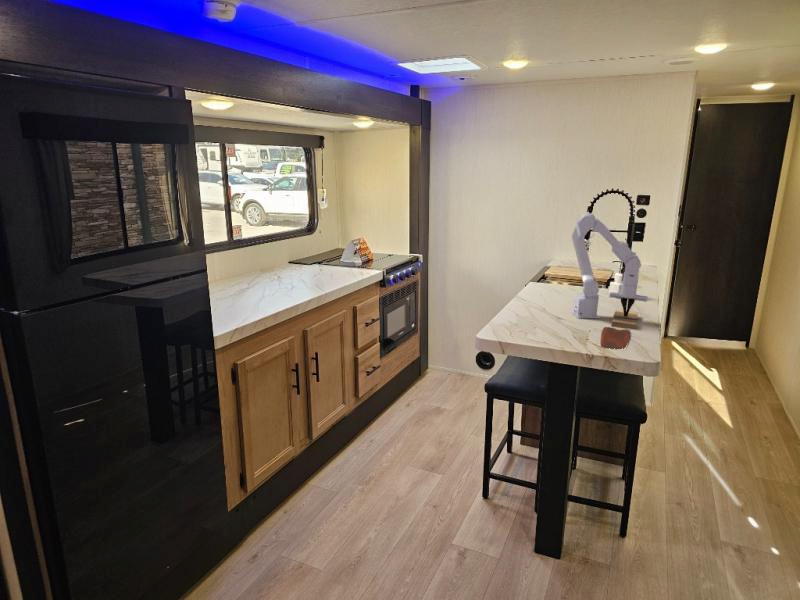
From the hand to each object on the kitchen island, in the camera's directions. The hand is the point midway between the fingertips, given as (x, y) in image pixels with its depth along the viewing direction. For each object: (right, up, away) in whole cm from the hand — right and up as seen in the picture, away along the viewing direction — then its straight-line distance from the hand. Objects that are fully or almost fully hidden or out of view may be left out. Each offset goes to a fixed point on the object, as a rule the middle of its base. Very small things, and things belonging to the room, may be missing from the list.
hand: (625, 315), depth 221 cm
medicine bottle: (+15, +8, +42) cm, 45 cm away
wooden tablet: (-15, -9, -24) cm, 29 cm away
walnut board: (-4, -4, -7) cm, 9 cm away
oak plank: (+1, -1, +3) cm, 3 cm away
